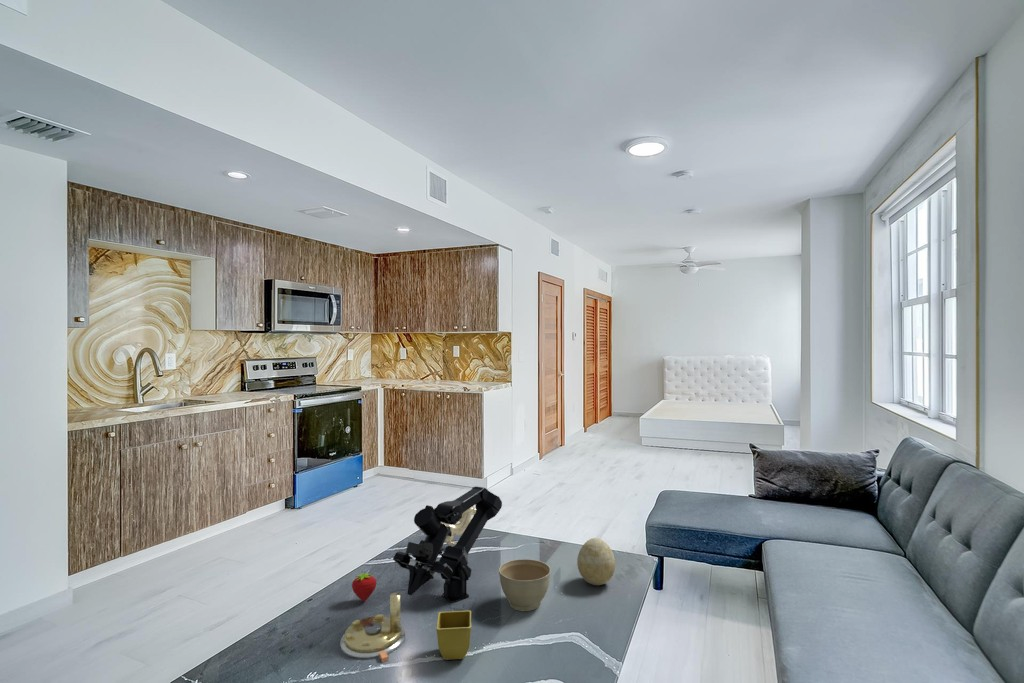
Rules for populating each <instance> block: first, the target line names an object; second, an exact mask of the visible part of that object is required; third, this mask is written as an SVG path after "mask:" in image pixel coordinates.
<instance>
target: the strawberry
mask: <svg viewBox="0 0 1024 683" xmlns="http://www.w3.org/2000/svg"><path fill="white" fill-rule="evenodd" d="M355 577H356V578H355V579H354V580H353V581H352V582H351V589H352V591H353V594H355V595H356V597H357V598H358V599H359V600H361V601H362V602H367V600H368V599H369V597H370V596H371V595H372V594H373V593H374V591H375V590H376V587H377V584H378V583H377V579H376V578H375V577H374V576H373V574H370V573H369V572H368V573H364V571H362V572H361V574H359V575H355Z"/></svg>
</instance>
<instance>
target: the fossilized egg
mask: <svg viewBox="0 0 1024 683" xmlns="http://www.w3.org/2000/svg"><path fill="white" fill-rule="evenodd" d="M576 559H577V564H576V565H577V569H578V572H579V574H580V576H581V577H582V579H583V580H584V581H586V583H589V584H590V585H593V586H602V585H605V584H606V583H608V582H609V581H610V580H611V579H612V577H613V576H614V574H615V570H616V559H615V556H614V551H612V548H611V547H610V545H608V544H607V542H606V541H604V540H603V539H601V538H598V537H593V538H590V539H589V540H586V541H585V542H584V543H583V545H582V546H581V547H580V549H579V551H578V555H577V558H576Z"/></svg>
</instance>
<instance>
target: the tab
mask: <svg viewBox="0 0 1024 683" xmlns="http://www.w3.org/2000/svg"><path fill="white" fill-rule="evenodd" d="M378 658H379V659H380V661H381V663H384V662H388V661H389V655H388V654H387V653H386V651H382V652H379V657H378Z"/></svg>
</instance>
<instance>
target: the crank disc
mask: <svg viewBox="0 0 1024 683" xmlns="http://www.w3.org/2000/svg"><path fill="white" fill-rule="evenodd" d="M401 595H402V594H401V593H400V592H392V593H391V594H390V595H389V616H385V615H384V614H383V613H382V614H376V615H375V616H370V617H366V618H363V619H360V620H359V619H356V620H354V621H353V622H351V625H350V626H349V627H347V628H346V630H345V631H344V634H343V635H344V643H345V646H346V647H347V648H348V649H349V650H351V651H354V652H358V653H373V652H378V651H382V650H384V649H387V648H389V647H391V646H392V645H394V644H395V643H396V642H397V641H398V640H399V639H400V637H401V626H402V624H401V608H402V606H401V600H402V599H401V598H402V596H401ZM370 623H380V624H381V625H382V630H381V631H380V632H379V633H377V634H366V633H365V627H366V626H367V625H368V624H370Z"/></svg>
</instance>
